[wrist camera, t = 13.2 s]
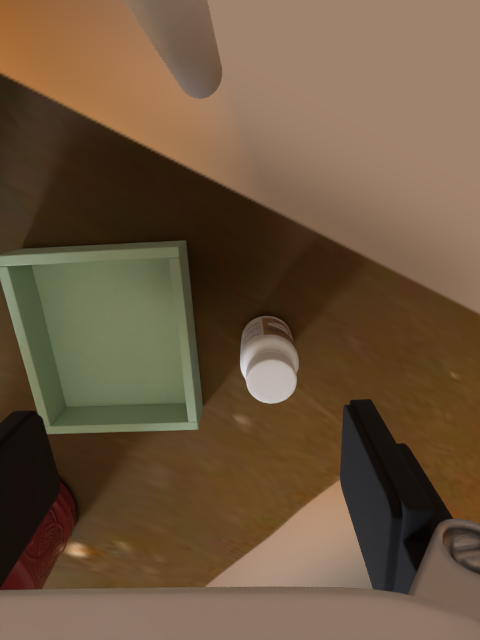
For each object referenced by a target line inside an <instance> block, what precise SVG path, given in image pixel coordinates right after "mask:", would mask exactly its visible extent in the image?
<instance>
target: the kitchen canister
mask: <svg viewBox="0 0 480 640" xmlns="http://www.w3.org/2000/svg"><path fill="white" fill-rule="evenodd" d="M60 484H61V488H60V492H59V495H58V497H57V498H56V500H55V502H54V503H53V505H52V507H51V508H50V510H49V511H48V513H47V515H46V516H45V518H44V519H43V521H42V523H41V524H40V526H39V527H38V529H37V531H36V532H35V534H34V535H33V537H32V539H31V540H30V542H29V543H28V545H27V547H26V548H25V550H24V551H23V553H22V555H21V556H20V558H19V559H18V561H17V563H16V564H15V566H14V567H13V569H12V571H11V572H10V574H9V575H8V577H7V579H6V580H5V582H4V583H3V585H2V587H1V588H0V590H36V589H42V588H43V586H44V584H45V582H46V580H47V578H48V576H49V574H50V572H51V570H52V568H53V566H54V565H55V563H56V561H57V559H58V557H59V555H60V554H61V553H62V552H63V551H64V549H65V547H66V545H67V543H68V541H69V539H70V537H71V535H72V531H73V526H74V524H75V519H76V508H75V504H74V501H73V498H72V496H71V494H70V492H69V491H68V490H67V488H66V487H65V486H64V485H63V483H62V482H61V481H60Z"/></svg>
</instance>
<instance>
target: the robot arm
mask: <svg viewBox="0 0 480 640" xmlns="http://www.w3.org/2000/svg"><path fill="white" fill-rule="evenodd" d="M340 481H341V487H342V491H343V494H344V497H345V501H346V504H347V507H348V510H349V513H350V517H351V520H352V523H353V526H354V529H355V533H356V536H357V539H358V542H359V545H360V548H361V552H362V555H363V558H364V561H365V565H366V568H367V571H368V574H369V577H370V581H371V584H372V587H373V589H359V588H343V587H170V588H96V589H36V590H0V640H480V524H477V523H475V522H472V521H469V520H463V519H453V517H452V516H451V514H450V513H449V511H448V509H447V508H446V506H445V505H444V503H443V501H442V500H441V498H440V497H439V495H438V493H437V492H436V490H435V489H434V487H433V485H432V484H431V482H430V481H429V479H428V477H427V476H426V474H425V473H424V471H423V469H422V468H421V466H420V464H419V463H418V461H417V460H416V458H415V456H414V455H413V453H412V452H411V450H410V449H409V447H408V446H407V445H406V444H404V443H401V444H396V442H395V440H394V438H393V437H392V435H391V433H390V432H389V430H388V428H387V427H386V425H385V423H384V421H383V420H382V418H381V416H380V415H379V413H378V411H377V409H376V408H375V406H374V404H373V403H372V401H371V400H369V399H366V400H351V401H350V405H344V409H343V428H342V448H341V469H340ZM60 488H61V484H60V479H59V476H58V472H57V469H56V465H55V461H54V458H53V454H52V450H51V447H50V443H49V440H48V436H47V432H46V429H45V425H44V421H43V419H42V417H41V416H40V415H38V414H37V413H36V412H35V411H15V412H12V413H11V414H10V415H9V416H8V417H7V418H6V419H4V420H3V421H2V422H1V423H0V588H1V587H2V585H3V583H4V582H5V580H6V579H7V577H8V575H9V574H10V572H11V571H12V569H13V567H14V566H15V564H16V563H17V561H18V559H19V558H20V556H21V555H22V553H23V551H24V550H25V548H26V547H27V545H28V543H29V542H30V540H31V539H32V537H33V535H34V534H35V532H36V531H37V529H38V527H39V526H40V524H41V523H42V521H43V519H44V518H45V516H46V515H47V513H48V511H49V510H50V508H51V507H52V505H53V503H54V502H55V500H56V498H57V497H58V495H59V492H60Z"/></svg>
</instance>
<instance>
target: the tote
mask: <svg viewBox="0 0 480 640" xmlns="http://www.w3.org/2000/svg"><path fill="white" fill-rule="evenodd" d="M0 279H1V283H2V286H3V290H4V293H5V297H6V301H7V304H8V308H9V311H10V315H11V319H12V322H13V326H14V329H15V333H16V336H17V340H18V344H19V347H20V351H21V354H22V358H23V361H24V365H25V369H26V372H27V376H28V379H29V383H30V386H31V390H32V394H33V397H34V401H35V404H36V408H37V411H38V415H40V416H41V417H42V419H43V421H44V425H45V429H46V432H47V434H68V433H100V432H133V431H165V430H197V429H198V428H199V423H200V419H201V414H202V409H203V403H202V393H201V383H200V373H199V363H198V354H197V344H196V334H195V324H194V314H193V304H192V294H191V285H190V275H189V265H188V255H187V245H186V240H184V241H165V242H145V243H126V244H106V245H87V246H68V247H48V248H29V249H19V250H15V251H11V252H8V253H4V254H0Z"/></svg>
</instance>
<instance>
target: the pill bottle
mask: <svg viewBox="0 0 480 640" xmlns="http://www.w3.org/2000/svg"><path fill="white" fill-rule="evenodd" d="M240 367H241V371H242V374H243V376H244V378H245V379H246V384H247V388H248V390H249V392H250V393H251V395H252V396H253V397H254V398H256V399H257V400H259V401H261V402H265V403H278V402H281V401H283V400H285V399H287V398H288V397H289V396H290V395H291V394H292V393H293V392H294V390H295V388H296V383H297V377H296V373H297V371H298V367H299V359H298V354H297V351H296V348H295V344H294V341H293V338H292V335H291V331H290V329H289V328H288V326H287V325H286V324H285V323H284V322H283V321H282V320H280V319H278V318H276V317H272V316H261V317H258V318H255V319H253V320H252V321H250V322H249V323H248V324H247V325H246V327H245V328H244V330H243V333H242V337H241V352H240Z"/></svg>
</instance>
